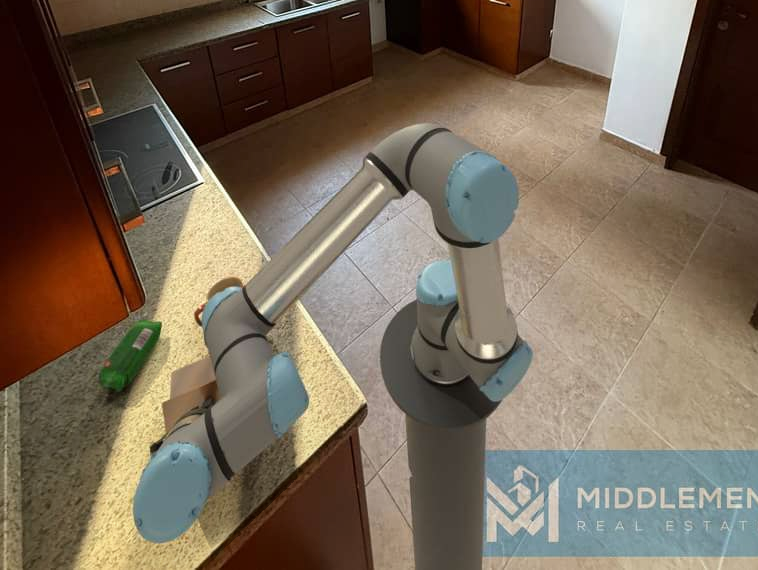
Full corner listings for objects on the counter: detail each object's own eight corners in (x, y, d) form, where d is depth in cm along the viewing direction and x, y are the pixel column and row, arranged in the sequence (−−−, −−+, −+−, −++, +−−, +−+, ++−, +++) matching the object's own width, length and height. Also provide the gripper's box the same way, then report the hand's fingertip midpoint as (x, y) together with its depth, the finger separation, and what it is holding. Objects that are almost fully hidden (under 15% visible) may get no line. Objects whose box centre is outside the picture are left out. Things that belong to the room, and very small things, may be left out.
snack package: (170, 328, 107) (165, 313, 106) (125, 397, 93) (119, 380, 91) (144, 326, 108) (139, 311, 107) (95, 394, 93) (89, 377, 92)
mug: (244, 300, 114) (238, 271, 111) (255, 325, 107) (249, 294, 104) (196, 327, 107) (188, 297, 104) (205, 355, 100) (196, 323, 97)
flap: (249, 364, 82) (249, 365, 82) (255, 399, 81) (255, 401, 81) (162, 402, 76) (161, 403, 76) (167, 441, 75) (167, 442, 75)
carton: (256, 375, 96) (248, 339, 92) (264, 438, 84) (255, 400, 81) (182, 409, 90) (171, 371, 86) (180, 481, 79) (167, 441, 75)
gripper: (138, 515, 54) (172, 452, 74) (246, 458, 59) (251, 413, 79) (133, 441, 57) (167, 400, 77) (236, 393, 62) (243, 366, 82)
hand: (209, 407), depth 78 cm, fingers closed
